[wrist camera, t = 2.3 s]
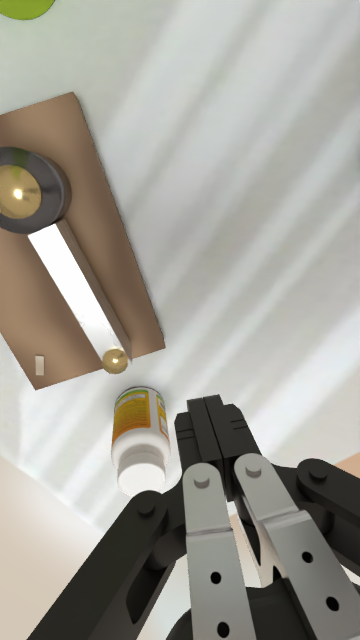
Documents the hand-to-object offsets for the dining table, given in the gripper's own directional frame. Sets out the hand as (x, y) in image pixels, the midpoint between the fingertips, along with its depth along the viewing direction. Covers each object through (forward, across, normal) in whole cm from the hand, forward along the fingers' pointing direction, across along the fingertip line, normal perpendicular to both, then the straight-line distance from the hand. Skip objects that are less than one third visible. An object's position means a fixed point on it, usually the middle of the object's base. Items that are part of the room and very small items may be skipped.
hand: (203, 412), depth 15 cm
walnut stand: (+17, +9, -4) cm, 20 cm away
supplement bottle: (+18, +5, +12) cm, 22 cm away
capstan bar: (+15, +7, -4) cm, 17 cm away
